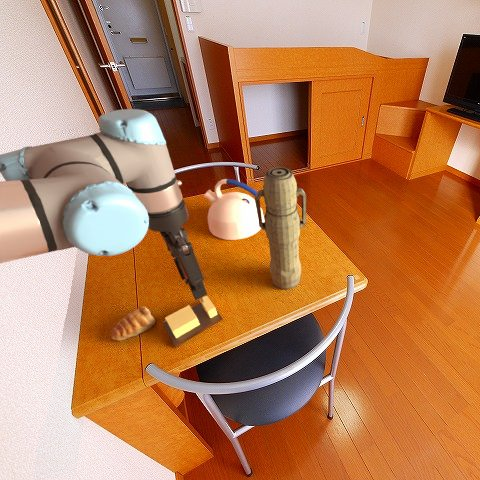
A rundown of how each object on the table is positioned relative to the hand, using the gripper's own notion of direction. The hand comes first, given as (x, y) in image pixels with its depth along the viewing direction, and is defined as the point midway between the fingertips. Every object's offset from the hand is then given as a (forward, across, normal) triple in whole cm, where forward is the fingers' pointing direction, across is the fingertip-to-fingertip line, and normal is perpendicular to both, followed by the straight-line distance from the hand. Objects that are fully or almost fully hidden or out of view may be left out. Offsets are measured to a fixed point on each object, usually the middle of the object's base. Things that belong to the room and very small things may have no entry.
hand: (194, 286), depth 65 cm
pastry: (+12, +8, +14) cm, 20 cm away
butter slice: (+11, 0, -1) cm, 11 cm away
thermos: (+12, -3, -24) cm, 27 cm away
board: (+12, 0, +3) cm, 12 cm away
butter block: (+11, 0, +5) cm, 12 cm away
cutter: (+3, 0, 0) cm, 3 cm away
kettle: (+12, +31, -26) cm, 42 cm away
